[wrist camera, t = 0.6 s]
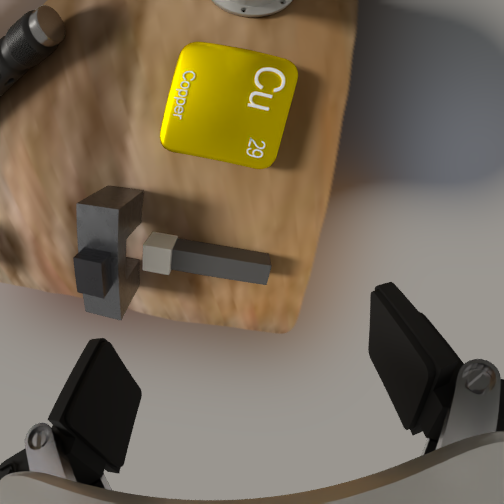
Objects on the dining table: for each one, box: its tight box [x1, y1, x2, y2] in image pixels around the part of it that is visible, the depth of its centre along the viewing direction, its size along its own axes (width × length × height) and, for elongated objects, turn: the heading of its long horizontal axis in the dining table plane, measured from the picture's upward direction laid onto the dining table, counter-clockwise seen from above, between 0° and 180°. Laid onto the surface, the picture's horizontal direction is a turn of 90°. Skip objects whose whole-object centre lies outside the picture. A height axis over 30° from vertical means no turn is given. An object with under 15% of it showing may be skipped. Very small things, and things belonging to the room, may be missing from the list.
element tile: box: [160, 42, 298, 169], centre depth 32 cm, size 15×15×5 cm
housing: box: [74, 186, 144, 320], centre depth 36 cm, size 16×6×12 cm, turn 168°
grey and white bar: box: [142, 232, 271, 285], centre depth 41 cm, size 4×18×5 cm, turn 78°
